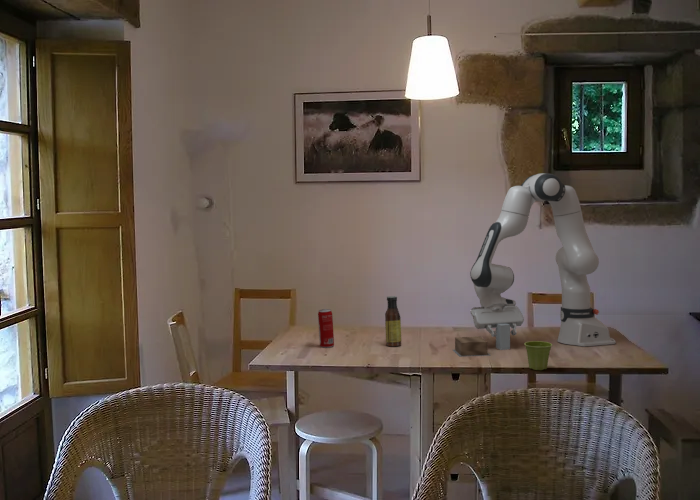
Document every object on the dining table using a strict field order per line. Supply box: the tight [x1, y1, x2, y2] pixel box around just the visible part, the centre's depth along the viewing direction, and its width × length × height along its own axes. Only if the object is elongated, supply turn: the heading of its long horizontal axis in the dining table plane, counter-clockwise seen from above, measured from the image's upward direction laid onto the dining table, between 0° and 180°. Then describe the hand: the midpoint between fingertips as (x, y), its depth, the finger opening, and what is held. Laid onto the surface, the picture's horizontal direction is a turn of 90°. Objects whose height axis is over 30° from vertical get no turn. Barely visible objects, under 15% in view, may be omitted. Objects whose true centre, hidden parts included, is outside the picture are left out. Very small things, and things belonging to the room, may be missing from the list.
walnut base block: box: [454, 336, 489, 357], centre depth 280 cm, size 10×10×5 cm
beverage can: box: [317, 308, 335, 349], centre depth 296 cm, size 6×6×15 cm
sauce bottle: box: [384, 295, 402, 348], centre depth 296 cm, size 7×6×20 cm
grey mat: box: [452, 349, 492, 358], centre depth 281 cm, size 12×12×1 cm
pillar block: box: [495, 323, 511, 351], centre depth 286 cm, size 4×4×10 cm
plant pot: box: [524, 340, 553, 371], centre depth 256 cm, size 9×9×9 cm
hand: (504, 335), depth 285 cm, fingers open, 7 cm apart
